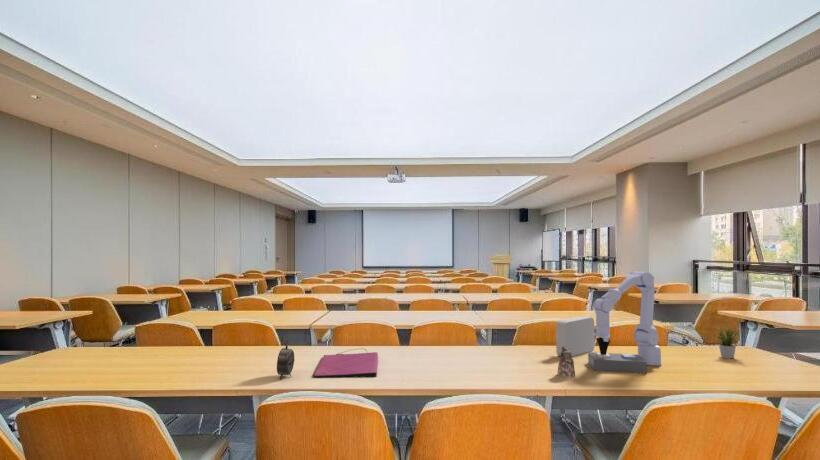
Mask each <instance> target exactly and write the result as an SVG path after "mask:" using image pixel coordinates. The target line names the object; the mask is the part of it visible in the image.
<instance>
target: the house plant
mask: <svg viewBox="0 0 820 460" xmlns="http://www.w3.org/2000/svg"><path fill="white" fill-rule="evenodd" d="M722 327H723V329H724V330H725V334H726V335H725V334H724V332H723V330H722V329H721V328H719V327H718V326H716V328H717V329H718V331H717V333H718V335H719V336H718V335H715V338H716V340H717V341H719V342H720V343H719V344H718V346H719V351H720V352H719V353H720V356H722V357H721V358H723V357H724V358H723V359H729V358H733V359H735V353H736V347H737V346H736V345H735V344H733V343H738V341H739V342H741V340H740V339H738V338H739V336H737V335H738V334H739V333H740V329H742V328H740V327H739V328H735V329H734V328H733V329H730V328H729V327H728V326H727V327H726V326H725V325H722ZM713 329H714V328H713ZM714 330H715V329H714ZM738 330H739V331H738ZM715 331H716V330H715ZM736 336H737V337H736ZM736 340H737V341H736Z"/></svg>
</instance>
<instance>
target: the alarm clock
mask: <svg viewBox="0 0 820 460" xmlns="http://www.w3.org/2000/svg"><path fill="white" fill-rule="evenodd" d="M288 344H289V339H288V338H286V339H285V345H284V346H285V347H282V348H281V349H280V351H279V352H278V356H277V358H276V359H277V362H276V373H277V375H278V376H280V377H279V380H280V381H281V380H282V377H283V376H290V377H292V375H291V373H292V372H293V368H294V365H295V352H294V350H293V349H292V348H288Z"/></svg>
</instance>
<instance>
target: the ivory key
mask: <svg viewBox="0 0 820 460" xmlns="http://www.w3.org/2000/svg"><path fill="white" fill-rule="evenodd" d="M596 353H597V357H599V358H610V355H609V354H608V353H609V352H607V353H606V355H602V354H601V353H600V352H596Z"/></svg>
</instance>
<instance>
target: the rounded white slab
mask: <svg viewBox="0 0 820 460" xmlns="http://www.w3.org/2000/svg"><path fill="white" fill-rule="evenodd" d="M555 326H556V327H555V337H556V338H555V340H556V341H555V346H556V356H559V357H561V351H562V347H564V348H569V349H570V350H571V355H572V358H573V357H576V356H580V355H584V354H586V353H587V354H588V352H592V351H593V352H594V350H595V346H596V345H595V344H596V343H595V341H596V338H595V336H594V334H595V319H594V317H591V316H577V317H571V318H566V319H561V320H558V321H557V322H556V325H555Z"/></svg>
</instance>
